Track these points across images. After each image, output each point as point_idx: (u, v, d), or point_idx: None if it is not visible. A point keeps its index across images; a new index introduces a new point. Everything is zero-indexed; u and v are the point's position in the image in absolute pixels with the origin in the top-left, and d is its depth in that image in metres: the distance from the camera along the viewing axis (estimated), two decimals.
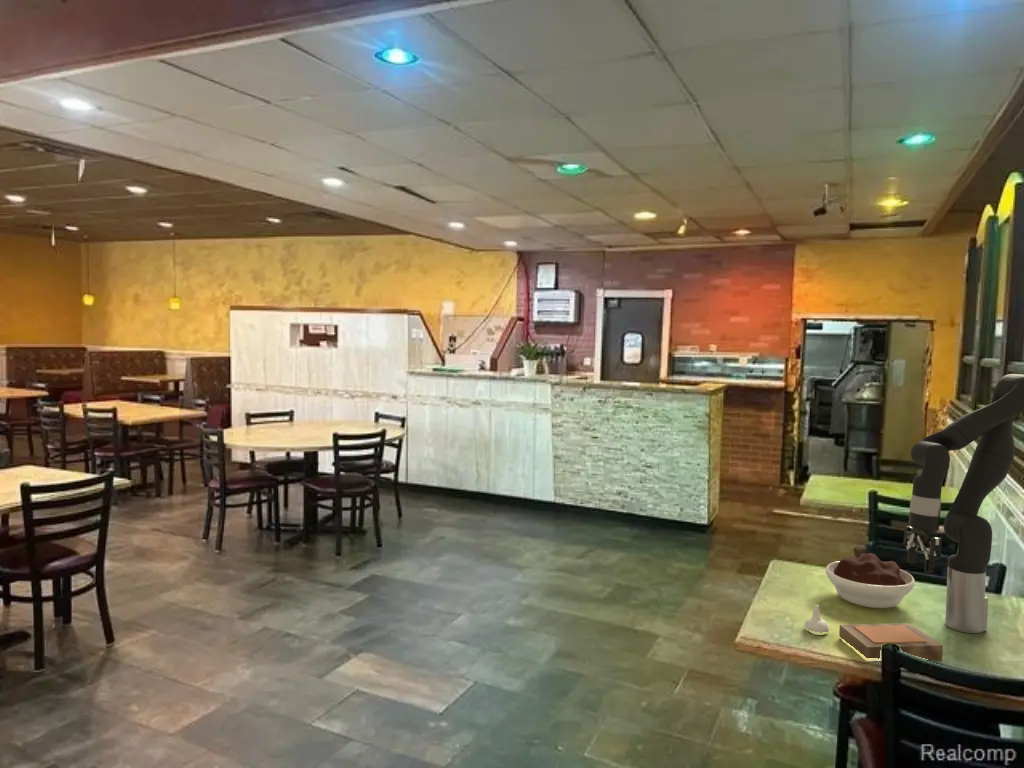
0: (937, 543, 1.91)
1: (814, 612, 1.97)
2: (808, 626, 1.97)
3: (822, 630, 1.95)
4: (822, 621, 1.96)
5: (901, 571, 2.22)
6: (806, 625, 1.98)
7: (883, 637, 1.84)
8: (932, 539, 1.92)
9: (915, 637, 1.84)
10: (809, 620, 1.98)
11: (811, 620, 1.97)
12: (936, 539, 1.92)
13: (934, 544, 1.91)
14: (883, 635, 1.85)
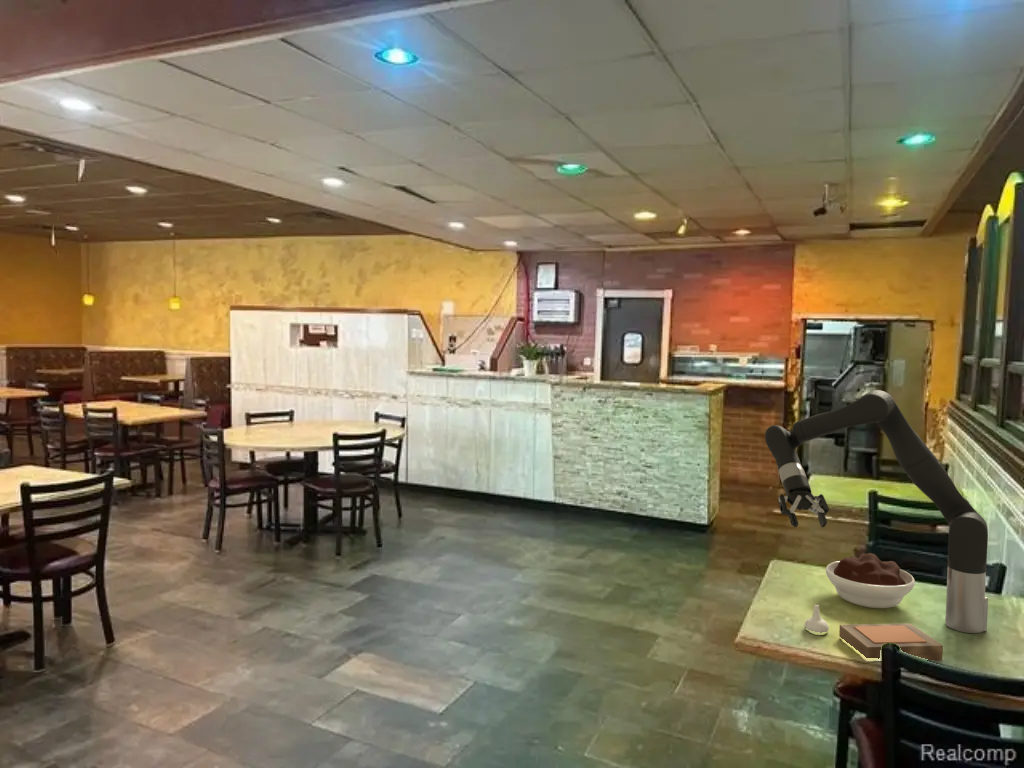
0: (779, 500, 2.15)
1: (814, 612, 1.97)
2: (808, 626, 1.97)
3: (822, 630, 1.95)
4: (822, 621, 1.96)
5: (901, 571, 2.22)
6: (806, 625, 1.98)
7: (883, 637, 1.84)
8: None
9: (915, 637, 1.84)
10: (809, 620, 1.98)
11: (811, 620, 1.97)
12: None
13: (779, 502, 2.16)
14: (883, 635, 1.85)
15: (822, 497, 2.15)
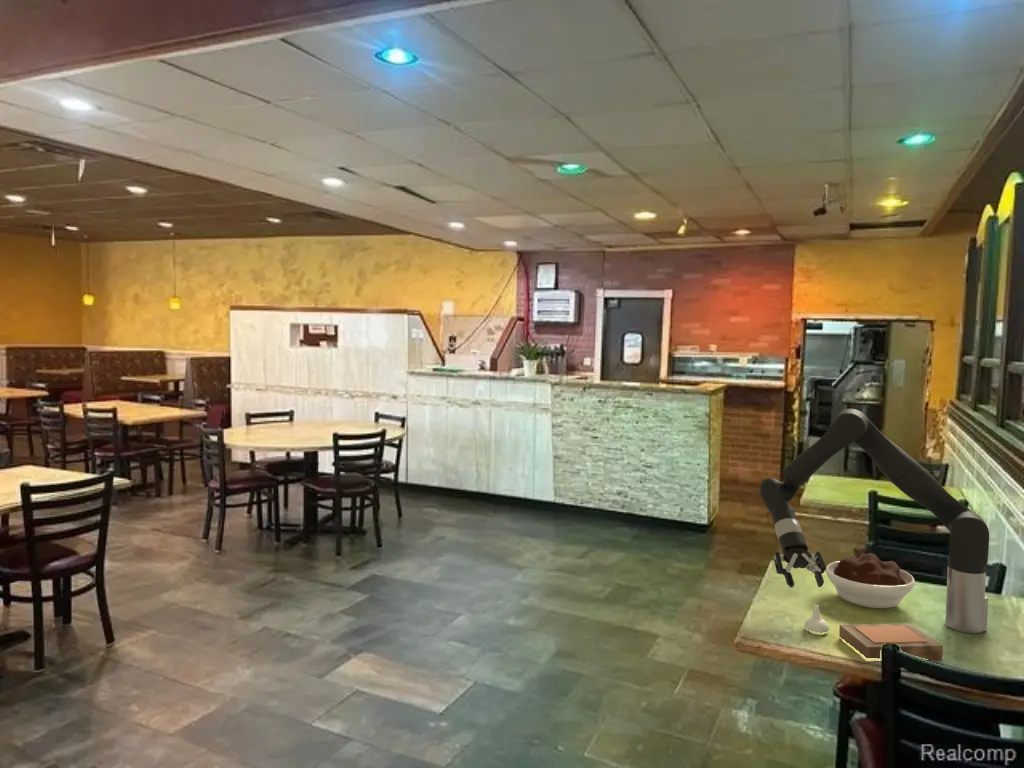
0: (775, 558, 2.10)
1: (814, 612, 1.97)
2: (808, 626, 1.97)
3: (822, 630, 1.95)
4: (822, 621, 1.96)
5: (901, 571, 2.22)
6: (806, 625, 1.98)
7: (883, 637, 1.84)
8: None
9: (915, 637, 1.84)
10: (809, 620, 1.98)
11: (811, 620, 1.97)
12: None
13: (774, 560, 2.10)
14: (883, 635, 1.85)
15: (819, 555, 2.09)
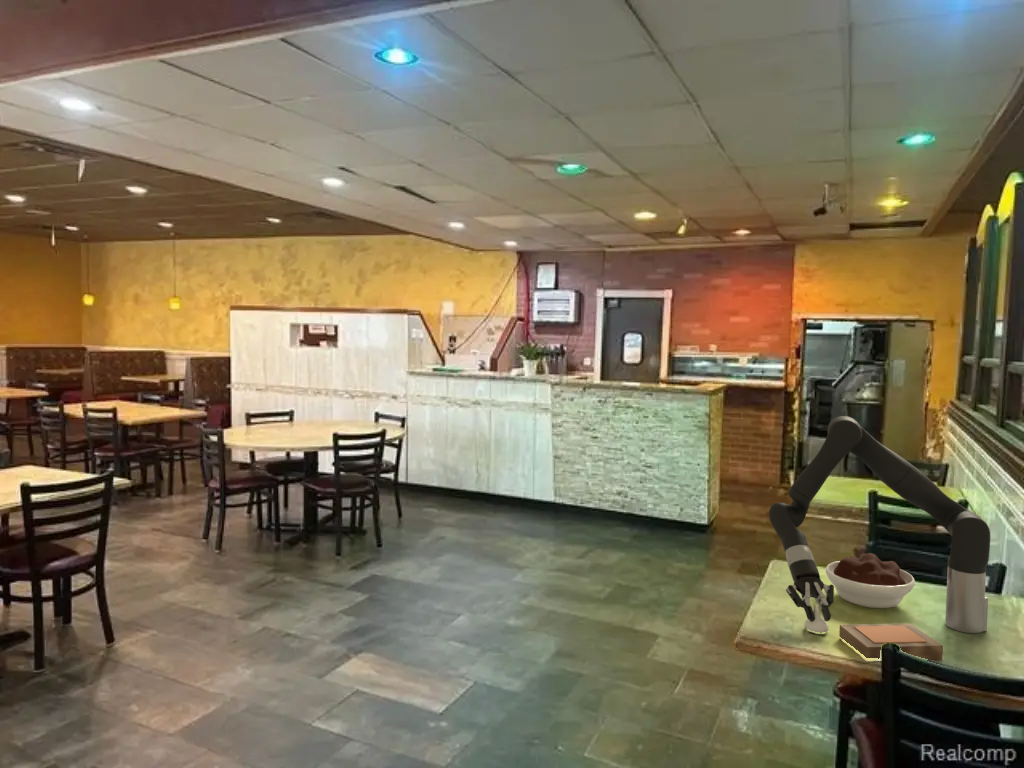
0: (789, 591, 2.01)
1: (814, 612, 1.97)
2: (808, 626, 1.97)
3: (822, 630, 1.95)
4: (822, 621, 1.97)
5: (901, 571, 2.22)
6: (806, 625, 1.98)
7: (883, 637, 1.84)
8: None
9: (915, 637, 1.84)
10: (809, 620, 1.98)
11: None
12: (787, 588, 2.02)
13: (789, 594, 2.01)
14: (883, 635, 1.85)
15: (832, 588, 2.01)
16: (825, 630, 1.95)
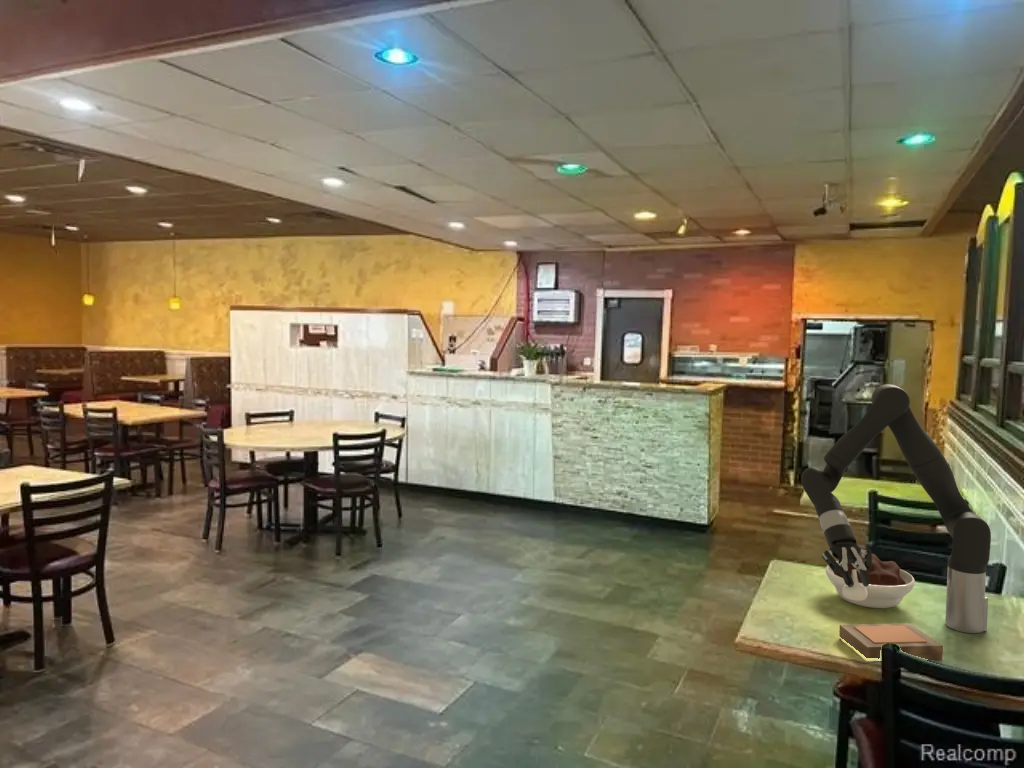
0: (825, 557, 1.95)
1: (852, 577, 1.91)
2: (846, 591, 1.90)
3: (861, 595, 1.89)
4: (860, 586, 1.90)
5: (901, 571, 2.22)
6: (844, 590, 1.91)
7: (883, 637, 1.84)
8: None
9: (915, 637, 1.84)
10: (847, 585, 1.92)
11: None
12: (823, 554, 1.95)
13: (825, 560, 1.95)
14: (883, 635, 1.85)
15: (869, 553, 1.94)
16: (864, 595, 1.89)
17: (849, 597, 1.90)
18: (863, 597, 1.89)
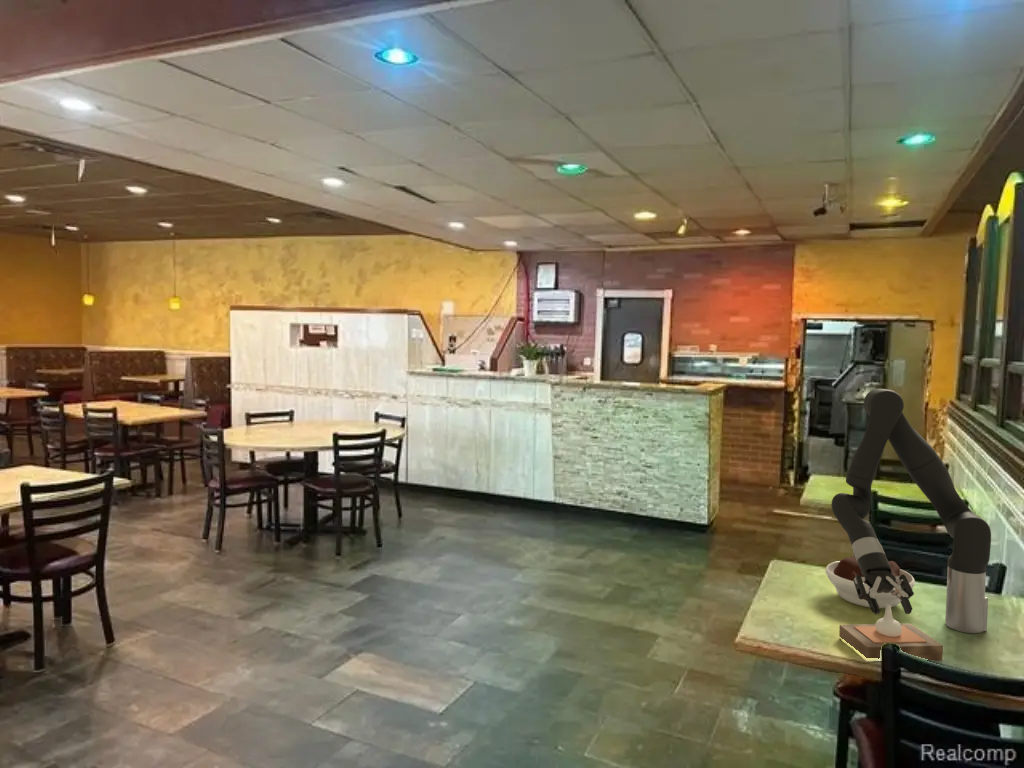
0: (856, 581, 1.90)
1: (886, 612, 1.86)
2: (880, 627, 1.85)
3: (896, 631, 1.83)
4: (895, 622, 1.85)
5: (901, 571, 2.22)
6: (878, 626, 1.86)
7: (883, 637, 1.84)
8: None
9: (915, 637, 1.84)
10: (881, 621, 1.86)
11: (883, 621, 1.86)
12: (855, 577, 1.91)
13: (855, 584, 1.91)
14: (883, 635, 1.85)
15: (904, 578, 1.90)
16: (899, 632, 1.84)
17: (883, 633, 1.85)
18: (898, 633, 1.84)
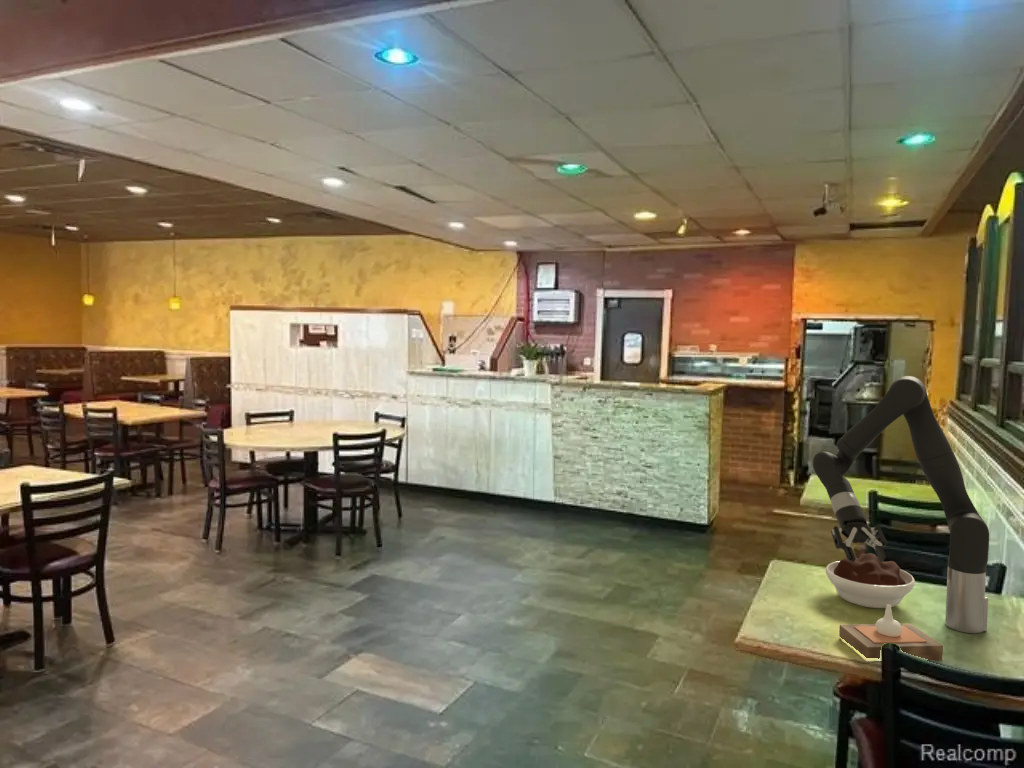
0: (833, 532, 2.02)
1: (886, 612, 1.86)
2: (880, 627, 1.85)
3: (896, 631, 1.83)
4: (895, 622, 1.85)
5: (901, 571, 2.22)
6: (878, 626, 1.86)
7: (883, 637, 1.84)
8: None
9: (915, 637, 1.84)
10: (881, 621, 1.86)
11: (883, 621, 1.86)
12: (832, 529, 2.03)
13: (832, 534, 2.03)
14: (883, 635, 1.85)
15: (879, 529, 2.02)
16: (899, 632, 1.84)
17: (883, 633, 1.85)
18: (898, 634, 1.84)
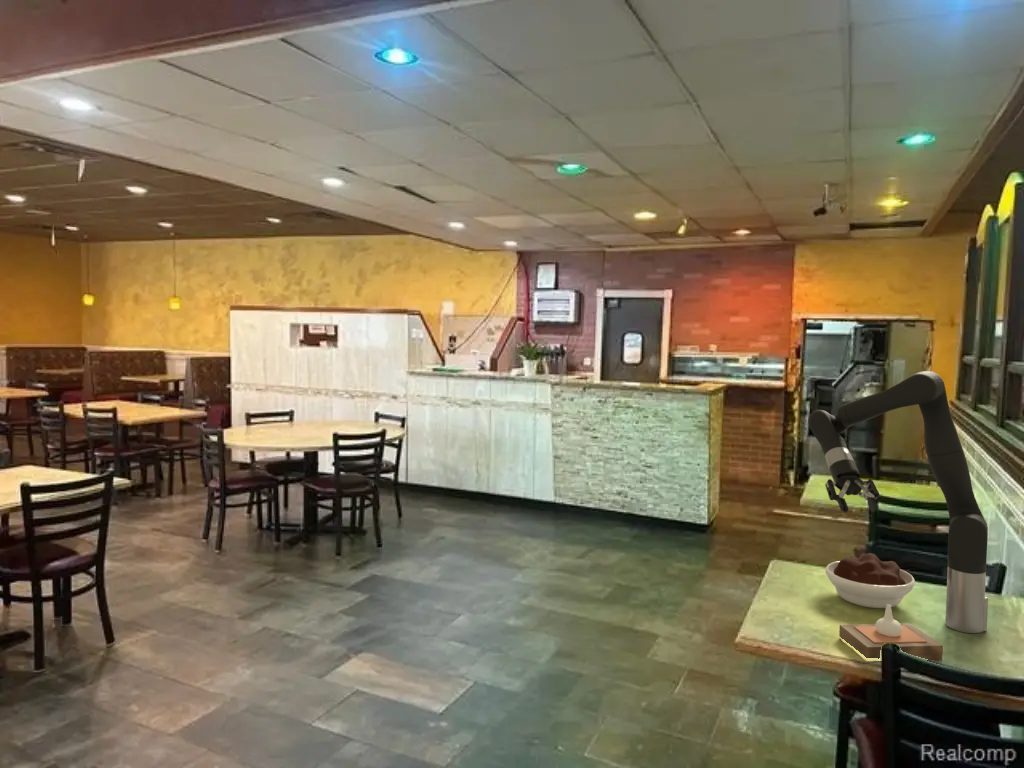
0: (827, 485, 2.10)
1: (886, 612, 1.86)
2: (880, 627, 1.85)
3: (896, 631, 1.83)
4: (895, 622, 1.85)
5: (901, 571, 2.22)
6: (878, 626, 1.86)
7: (883, 637, 1.84)
8: None
9: (915, 637, 1.84)
10: (881, 621, 1.86)
11: (883, 621, 1.86)
12: (826, 482, 2.11)
13: (826, 487, 2.10)
14: (883, 635, 1.85)
15: (871, 482, 2.10)
16: (899, 632, 1.84)
17: (883, 633, 1.85)
18: (898, 634, 1.84)
